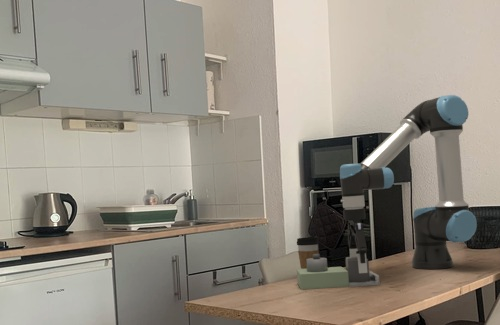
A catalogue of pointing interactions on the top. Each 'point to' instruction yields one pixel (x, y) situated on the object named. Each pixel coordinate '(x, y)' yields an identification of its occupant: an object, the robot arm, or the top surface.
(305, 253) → the coffee cup
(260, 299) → the top surface
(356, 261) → the grey block
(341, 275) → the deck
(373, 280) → the chute bracket
